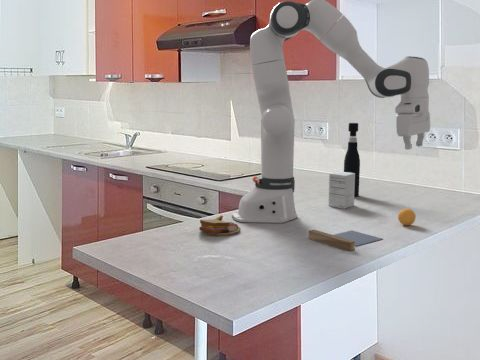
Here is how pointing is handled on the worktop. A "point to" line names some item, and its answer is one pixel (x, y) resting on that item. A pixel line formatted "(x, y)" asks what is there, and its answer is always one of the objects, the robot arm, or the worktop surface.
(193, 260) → the worktop surface
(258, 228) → the worktop surface
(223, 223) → the toy sandwich meal
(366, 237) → the slate square
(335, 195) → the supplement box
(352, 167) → the wine bottle
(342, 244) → the rail
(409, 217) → the ball
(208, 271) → the worktop surface
